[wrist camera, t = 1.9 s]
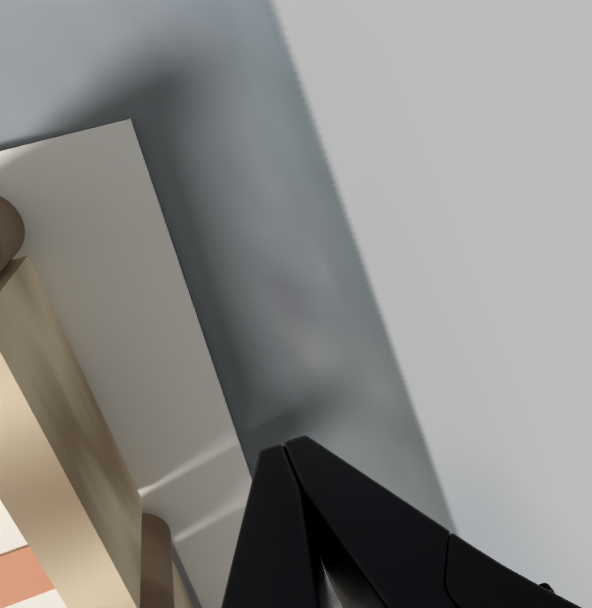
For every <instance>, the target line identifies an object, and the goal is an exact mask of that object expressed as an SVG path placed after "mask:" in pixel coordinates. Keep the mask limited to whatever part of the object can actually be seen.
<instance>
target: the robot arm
mask: <svg viewBox="0 0 592 608" xmlns="http://www.w3.org/2000/svg"><path fill="white" fill-rule="evenodd" d="M322 563H323V565H322ZM323 566H324V568H323ZM324 569H325V571H326V574H327V576H328V578H329V580H330V582H331V585H332V587H333V589H334V591H335V593H336V595H337V597H338V599H339V601H340V603H341V605H342V607H343V608H581V607H579V606H577V605H575V604H573V603H571V602H570V601H568V600H566V599H564V598H562V597H560V596H558V595H556V594H555V593H554V591H553V589H552V588H551V587H550V586H549V585H548V584H547V583H543V584H540V585H537V584H536V583H534V582H532V581H530V580H528V579H527V578H525V577H523V576H521V575H519V574H518V573H516V572H514V571H512V570H510V569H508V568H507V567H505V566H503V565H502V564H500V563H499V562H497V561H495V560H494V559H492V558H491V557H489V556H487V555H486V554H484V553H483V552H481V551H479V550H478V549H476V548H475V547H473V546H472V545H470V544H468V543H467V542H466V541H464V540H463V539H461V538H460V537H458V536H457V535H455V534H453V533H452V534H450V532H449V530H447V529H446V528H444V527H443V526H441V525H440V524H438V523H437V522H435V521H434V520H432V519H431V518H429V517H428V516H426V515H425V514H423V513H422V512H420V511H419V510H417V509H416V508H414V507H413V506H411V505H410V504H408V503H407V502H405V501H404V500H402V499H401V498H399V497H398V496H396V495H395V494H393V493H392V492H390V491H389V490H387V489H386V488H384V487H383V486H381V485H380V484H378V483H377V482H375V481H374V480H372V479H371V478H369V477H368V476H366V475H365V474H363V473H362V472H360V471H359V470H357V469H356V468H354V467H353V466H351V465H350V464H348V463H347V462H345V461H344V460H342V459H341V458H339V457H338V456H336V455H335V454H333V453H332V452H330V451H329V450H327V449H326V448H324V447H323V446H321V445H320V444H318V443H317V442H315V441H314V440H312V439H311V438H309V437H308V436H305V435H304V436H300V437H297V438H295V439H292V440H289V441H287V442H285V443H284V447H283V446H282V445H281V444H278V445H275V446H272V447H269V448H267V449H264V450H262V451H260V452H259V455H258V458H257V463H256V467H255V471H254V475H253V479H252V483H251V487H250V491H249V495H248V499H247V503H246V507H245V511H244V515H243V520H242V524H241V528H240V532H239V536H238V540H237V544H236V548H235V552H234V556H233V560H232V564H231V568H230V573H229V577H228V581H227V585H226V589H225V593H224V597H223V601H222V605H221V608H333V606H332V601H331V597H330V592H329V588H328V584H327V580H326V576H325V572H324Z"/></svg>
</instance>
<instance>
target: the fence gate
mask: <svg viewBox="0 0 592 608" xmlns="http://www.w3.org/2000/svg"><path fill="white" fill-rule="evenodd" d="M24 238H25V227H24V223H23V220H22V218H21V216H20V214H19V212H18V211H17V209H16V208H15V207H14V206H13V205H12V204H11V203H10V202H9V201H7V200H6V199H4V198H3V197H1V196H0V500H1V502H2V503H3V505H4V506H5V508H6V510H7V511H8V513H9V515H10V516H11V518H12V519H13V521H14V523H15V524H16V526H17V527H18V529H19V531H20V532H21V534H22V536H23V537H24V539H25V540H26V542H27V544H28V545H29V547H30V548H31V550H32V552H33V553H34V555H35V556H36V558H37V560H38V561H39V563H40V565H41V566H42V568H43V569H44V571H45V573H46V574H47V576H48V577H49V579H50V581H51V582H52V584H53V585H54V587H55V589H56V590H57V592H58V594H59V595H60V597H61V598H62V600H63V602H64V603H65V605H66V606H67V608H174V588H173V568H172V547H171V532H170V528H169V526H168V525H167V523H166V522H165V521H164V520H163V519H161V518H160V517H158V516H155V515H152V514H148V513H142V499H141V497H140V495H139V492H138V490H137V488H136V486H135V484H134V482H133V480H132V477H131V475H130V473H129V471H128V469H127V467H126V464H125V462H124V460H123V458H122V456H121V454H120V452H119V449H118V447H117V445H116V443H115V441H114V439H113V436H112V434H111V432H110V430H109V428H108V426H107V424H106V421H105V419H104V417H103V415H102V413H101V411H100V409H99V406H98V404H97V402H96V400H95V398H94V396H93V393H92V391H91V389H90V387H89V385H88V383H87V381H86V378H85V376H84V374H83V372H82V370H81V368H80V366H79V363H78V361H77V359H76V357H75V355H74V353H73V350H72V348H71V346H70V344H69V342H68V340H67V338H66V335H65V333H64V331H63V329H62V327H61V325H60V322H59V320H58V318H57V316H56V314H55V312H54V310H53V307H52V305H51V303H50V301H49V299H48V297H47V295H46V292H45V290H44V288H43V286H42V284H41V282H40V279H39V277H38V275H37V273H36V271H35V269H34V267H33V264H32V262H31V260H30V258H29V256H28V255H27V256H24V257H20V258H16V259H13V260H11V259H12V258H13V257H14V256H15V255H16V254H17V252H18V251H19V250H20V248H21V246H22V244H23V242H24Z"/></svg>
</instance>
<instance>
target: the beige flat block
mask: <svg viewBox="0 0 592 608" xmlns="http://www.w3.org/2000/svg"><path fill="white" fill-rule="evenodd" d="M172 568H173V588H174V608H195V607H194V605H193V603H192V601H191V599H190V597H189V594H188V592H187V590H186V588H185V586H184V584H183V581H182V579H181V577H180V575H179V573H178V571H177V568H176V566H175V564H174V562H173V560H172Z"/></svg>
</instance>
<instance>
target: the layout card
mask: <svg viewBox="0 0 592 608" xmlns="http://www.w3.org/2000/svg"><path fill="white" fill-rule="evenodd" d="M0 196H1V197H3V198H4V199H6V200H7V201H9V202H10V203H11V204H12V205H13V206H14V207H15V208H16V209H17V211H18V212H19V214H20V216H21V218H22V220H23V223H24V227H25V238H24V242H23V244H22V246H21V248H20V250H19V251H18V252H17V254H16V255H15V256H14V257H13V258H12V259H11V260H13V259H16V258H20V257H24V256H27V255H28V256H29V258H30V260H31V262H32V264H33V267H34V269H35V271H36V273H37V275H38V277H39V279H40V282H41V284H42V286H43V288H44V290H45V292H46V295H47V297H48V299H49V301H50V303H51V305H52V307H53V310H54V312H55V314H56V316H57V318H58V320H59V322H60V325H61V327H62V329H63V331H64V333H65V335H66V338H67V340H68V342H69V344H70V346H71V348H72V350H73V353H74V355H75V357H76V359H77V361H78V363H79V366H80V368H81V370H82V372H83V374H84V376H85V378H86V381H87V383H88V385H89V387H90V389H91V391H92V393H93V396H94V398H95V400H96V402H97V404H98V406H99V409H100V411H101V413H102V415H103V417H104V419H105V421H106V424H107V426H108V428H109V430H110V432H111V434H112V436H113V439H114V441H115V443H116V445H117V447H118V449H119V452H120V454H121V456H122V458H123V460H124V462H125V464H126V467H127V469H128V471H129V473H130V475H131V477H132V480H133V482H134V484H135V486H136V488H137V490H138V492H139V495H140V497H141V499H142V513H148V514H152V515H155V516H158V517H160V518H161V519H163V520H164V521H165V522H166V523H167V525H168V526H169V528H170V532H171V547H172V560H173V562H174V564H175V566H176V568H177V571H178V573H179V575H180V577H181V579H182V581H183V584H184V586H185V588H186V590H187V592H188V594H189V597H190V599H191V601H192V603H193V605H194V607H195V608H221V605H222V601H223V597H224V593H225V589H226V585H227V581H228V577H229V573H230V568H231V564H232V560H233V556H234V552H235V548H236V544H237V540H238V536H239V532H240V528H241V524H242V520H243V515H244V511H245V507H246V503H247V499H248V495H249V491H250V487H251V483H252V478H251V475H250V472H249V469H248V466H247V463H246V460H245V457H244V454H243V451H242V448H241V445H240V442H239V439H238V436H237V433H236V430H235V427H234V424H233V421H232V418H231V416H230V413H229V410H228V407H227V404H226V401H225V398H224V395H223V392H222V389H221V386H220V383H219V380H218V377H217V374H216V371H215V368H214V365H213V362H212V359H211V356H210V353H209V350H208V347H207V344H206V341H205V338H204V335H203V332H202V329H201V326H200V323H199V320H198V317H197V314H196V311H195V308H194V305H193V303H192V300H191V297H190V294H189V291H188V288H187V285H186V282H185V279H184V276H183V273H182V270H181V267H180V264H179V261H178V258H177V255H176V252H175V249H174V246H173V243H172V240H171V237H170V234H169V231H168V228H167V225H166V222H165V219H164V216H163V213H162V210H161V207H160V204H159V201H158V198H157V195H156V192H155V190H154V187H153V184H152V181H151V178H150V175H149V172H148V169H147V166H146V163H145V160H144V157H143V154H142V151H141V148H140V145H139V142H138V139H137V136H136V133H135V130H134V127H133V124H132V121H131V119H127V120H123V121H119V122H115V123H110V124H106V125H102V126H98V127H94V128H90V129H86V130H82V131H78V132H74V133H70V134H66V135H62V136H58V137H54V138H50V139H46V140H42V141H38V142H34V143H30V144H26V145H22V146H18V147H14V148H10V149H6V150H2V151H0ZM0 608H67V606H66V605H65V603H64V602H63V600H62V598H61V597H60V595H59V594H58V592H57V590H56V589H55V587H54V585H53V584H52V582H51V581H50V579H49V577H48V576H47V574H46V573H45V571H44V569H43V568H42V566H41V565H40V563H39V561H38V560H37V558H36V556H35V555H34V553H33V552H32V550H31V548H30V547H29V545H28V544H27V542H26V540H25V539H24V537H23V536H22V534H21V532H20V531H19V529H18V527H17V526H16V524H15V523H14V521H13V519H12V518H11V516H10V515H9V513H8V511H7V510H6V508H5V506H4V505H3V503H2V502H1V500H0Z"/></svg>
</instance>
